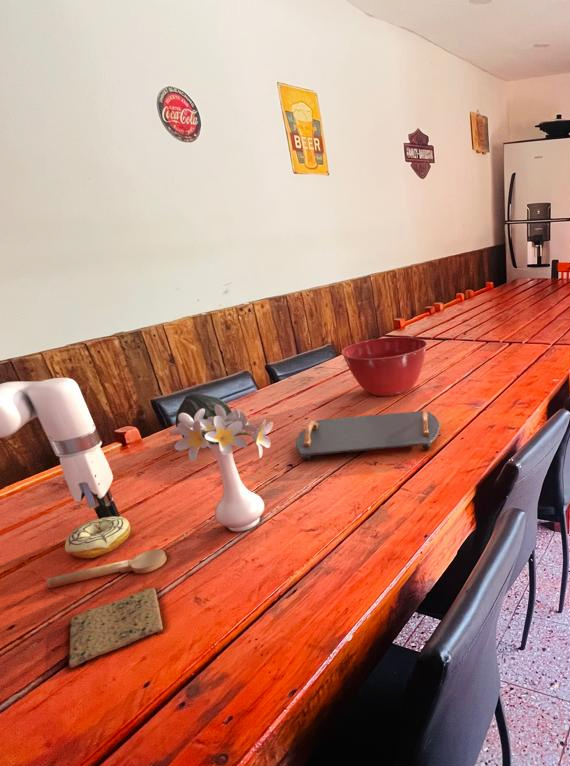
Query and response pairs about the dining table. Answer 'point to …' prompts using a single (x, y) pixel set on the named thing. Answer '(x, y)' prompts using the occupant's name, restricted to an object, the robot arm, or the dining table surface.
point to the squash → (200, 406)
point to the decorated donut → (97, 537)
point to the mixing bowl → (386, 364)
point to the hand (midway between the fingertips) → (110, 520)
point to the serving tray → (367, 433)
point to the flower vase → (226, 460)
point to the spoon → (113, 568)
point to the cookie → (113, 626)
